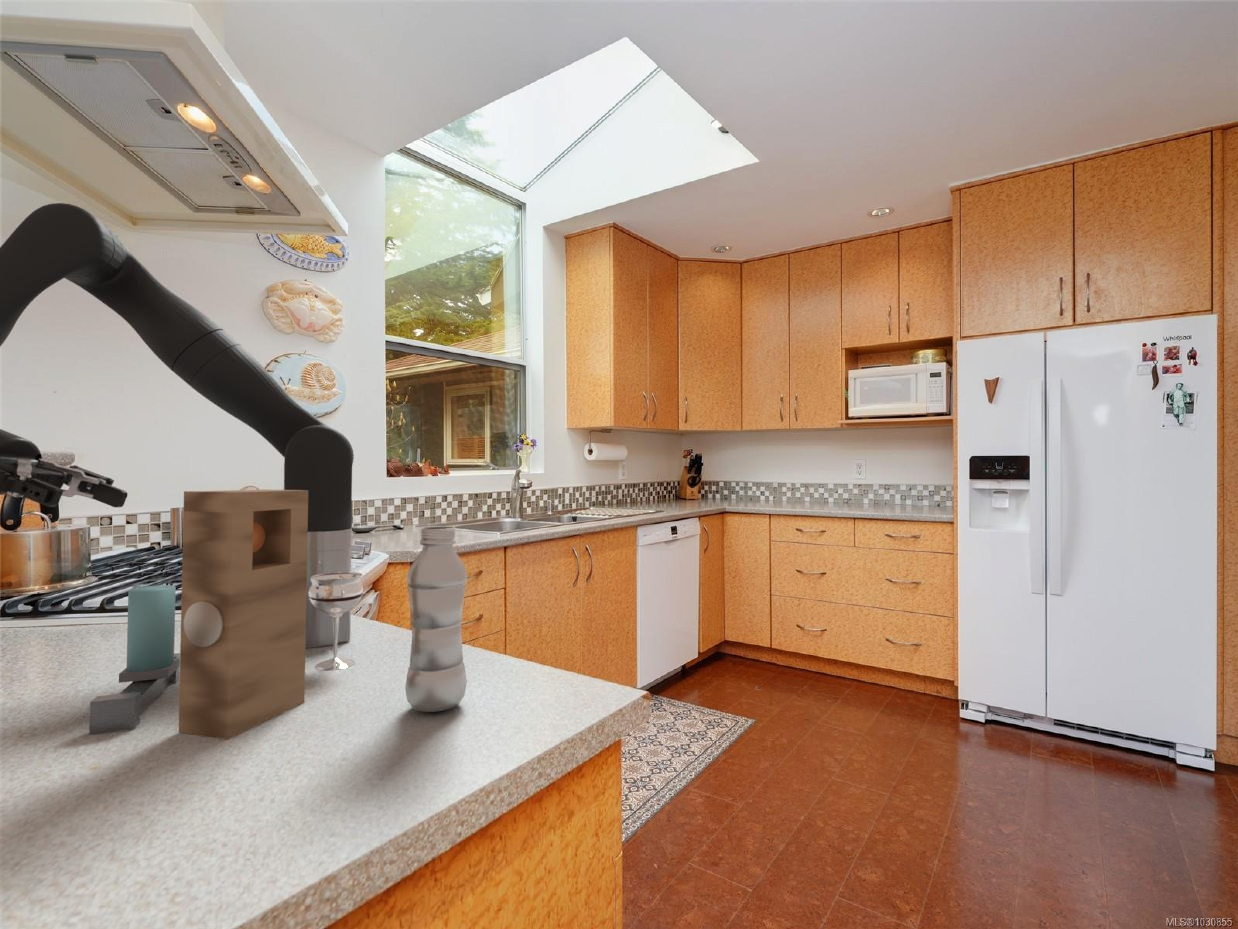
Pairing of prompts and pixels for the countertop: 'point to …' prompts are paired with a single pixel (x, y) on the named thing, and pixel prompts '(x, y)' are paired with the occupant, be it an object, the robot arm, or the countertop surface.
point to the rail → (127, 704)
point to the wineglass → (335, 605)
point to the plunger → (258, 536)
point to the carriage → (150, 634)
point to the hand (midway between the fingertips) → (92, 499)
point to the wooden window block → (242, 609)
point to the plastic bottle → (436, 623)
